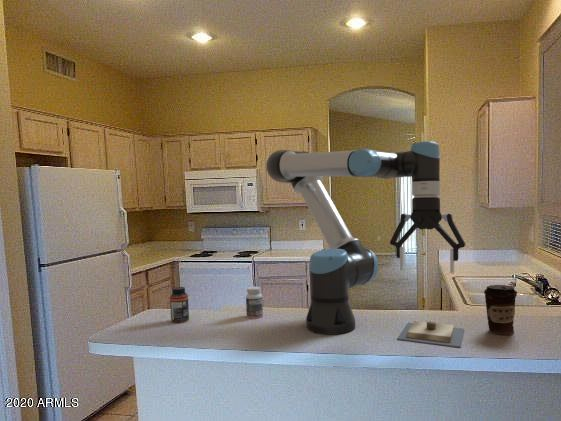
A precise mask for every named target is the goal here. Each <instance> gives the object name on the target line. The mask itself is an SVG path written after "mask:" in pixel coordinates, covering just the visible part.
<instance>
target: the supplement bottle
mask: <svg viewBox="0 0 561 421" xmlns="http://www.w3.org/2000/svg"><path fill="white" fill-rule="evenodd" d="M169 301H170V302H169V303H170V322H172V323H173V322H174V324H181V323H180V322H183V323H186V322H188V321H189V320H190V314H189V313H190V311H189V310H190V309H189V295H188V293H187V292H186V288H185V286H176V287H173V288H172V294H171V295H170V296H169ZM187 320H188V321H187ZM185 321H186V322H185Z"/></svg>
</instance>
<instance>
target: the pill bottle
mask: <svg viewBox="0 0 561 421" xmlns="http://www.w3.org/2000/svg"><path fill="white" fill-rule="evenodd" d="M261 288H262V287H261V286H248V287H247V288H246V292H247V294H246V295H245V304H246V306H245V307H246V308H245V310H246V317H247V318H248V319H252V318H255V319H259V318H262V317H263V316H264V302H263V301H264V300H263V299H264V298H263V294H262V293H261V292H262V290H261Z"/></svg>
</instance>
